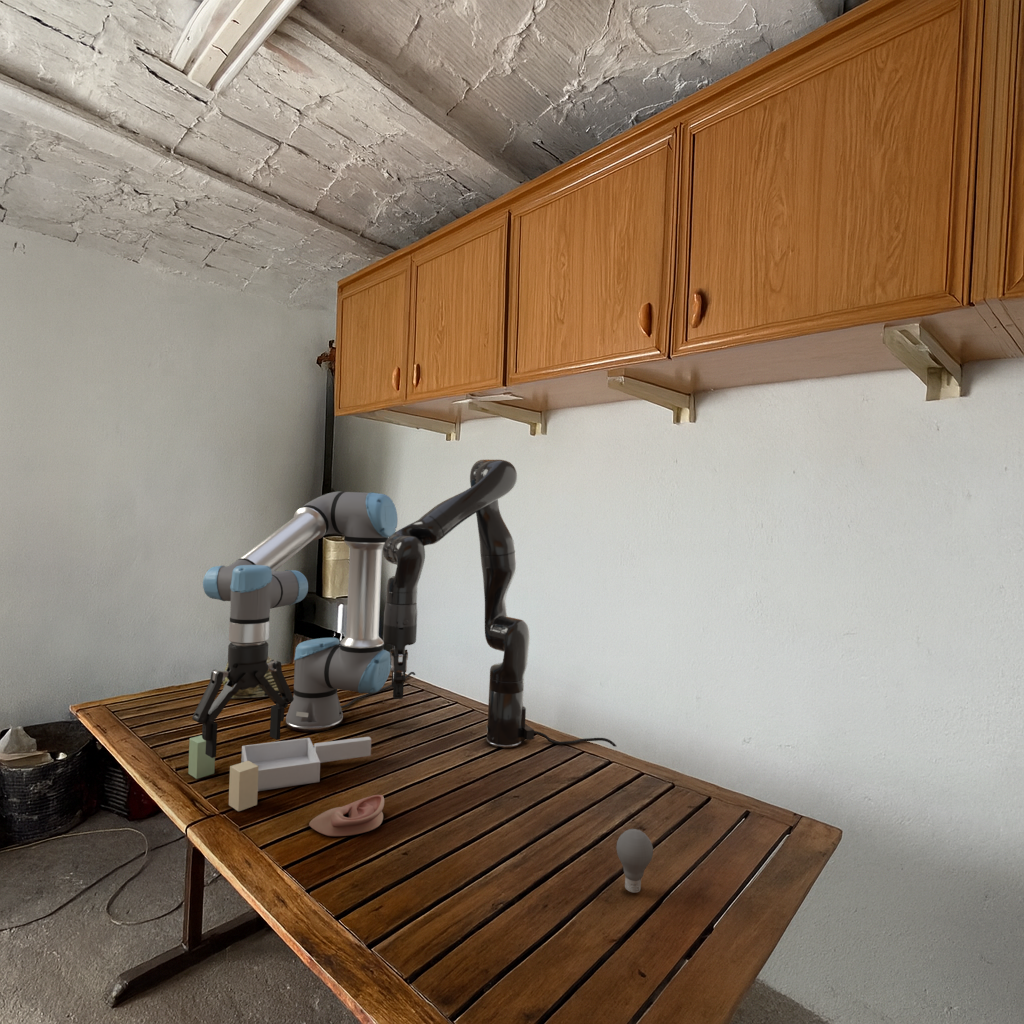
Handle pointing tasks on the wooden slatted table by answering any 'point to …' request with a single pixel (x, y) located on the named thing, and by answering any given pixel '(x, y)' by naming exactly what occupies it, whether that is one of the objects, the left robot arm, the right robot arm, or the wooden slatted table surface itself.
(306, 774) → the tray
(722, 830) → the wooden slatted table surface
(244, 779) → the block
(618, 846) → the light bulb
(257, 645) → the left robot arm
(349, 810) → the anatomical model
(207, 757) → the block
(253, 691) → the fossil
